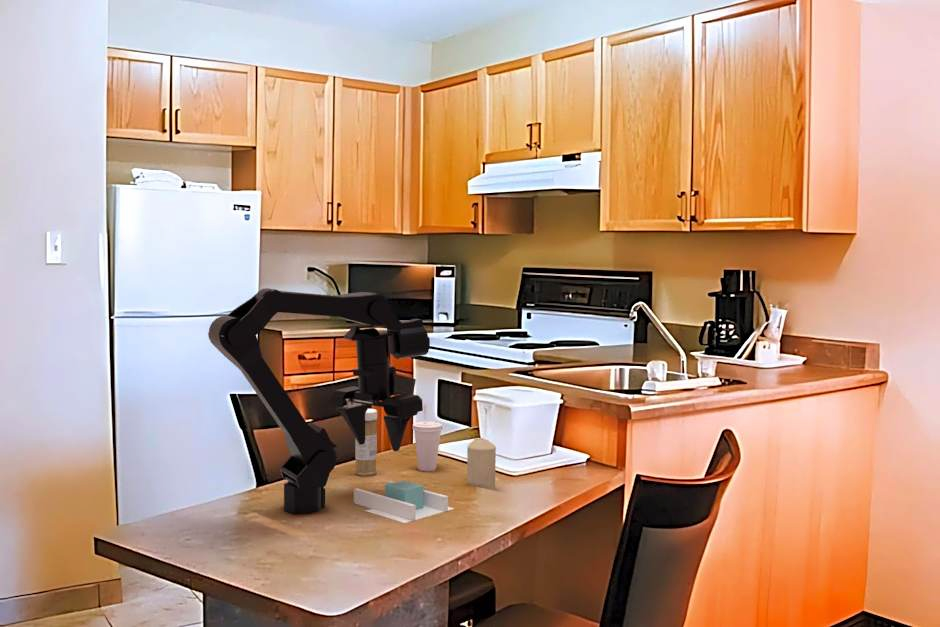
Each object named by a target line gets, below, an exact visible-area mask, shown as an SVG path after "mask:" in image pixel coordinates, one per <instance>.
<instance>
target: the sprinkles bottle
mask: <svg viewBox="0 0 940 627" xmlns="http://www.w3.org/2000/svg"><path fill="white" fill-rule="evenodd" d="M377 419H378V410H377V409H375V408H368V409H367V411H366V413H365V443H364V444H362V445H360V444H359V443H358V441H357V439H356V438H355V441H354V442H355V446H354V447H355V452H354V453H355V456H354V457H355V470H354V474H356V475H357V476H365V477H369V476H374V475H376V474H377V473H378V471H377V457H378V451H377V449H378V448H377V447H378V446H377V445H378V443H377V440H378V439H377V435H378V434H377V421H378V420H377Z"/></svg>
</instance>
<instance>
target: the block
mask: <svg viewBox="0 0 940 627" xmlns="http://www.w3.org/2000/svg"><path fill="white" fill-rule="evenodd" d="M395 482H396V483H392V484H387V485H386V484H384V492H385V493H384V496H386V497H389V498H393V499H396V500H400V501H403V502H407V503H410V504H414V505H416V510H418V509H422V508H423V493H424V490H425V488H424V485H421V484H418V483H414V482H410V481H408V480H400V481H395Z"/></svg>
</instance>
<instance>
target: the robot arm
mask: <svg viewBox="0 0 940 627" xmlns="http://www.w3.org/2000/svg"><path fill="white" fill-rule="evenodd" d="M387 298H388V297H386V295H383V294H380V293H375V292H367V291H366V292H365V291H359V292H351V293H350V292H349V293H343V294H334V295H331V294H330V295H329V294H321V293H320V294H318V293H306V292H297V291H287V290H286V291H285V290H278V289H276V288H275V289H274V288H268V287H265V288H261V289H259V290H258V291H257V293H256V294H254V295H253V296H252V297H251V298H250V299H248V300H246V301H245V302H243V303H241V304H240V305H238V306H237V307H236V308H234V309H233V310H232V311H231V312H229V313H228V314H227V315H221V316H219V317H217V318H215V319H214V320H213V321H212V322H211V324H210V326H209V328H208V332H207V335H208V340H209V341H210V343H211V344H212V345H213V346H214V348H216V349H217V350H218V351H219V352H220V353H221V354H222V355H223V356H224V357H225V359H227V360H228V361H230V362H231V363H232V364H233V366H235V367H236V368H238V369H239V371H240V372H241V373H242V374H243V376H244V378H245V379H246V381H247V382H248V383H249V384H250V386H251V388H252V389H253V391H254V392H255V393H256V395H257V396H258V398H259V399H260V401H261V402H262V404H263V405H264V406H265V408H266V409H267V411H268V412H269V414H270V415H271V416H272V418H273V420H274V421H275V422H276V424H277V425H278V427H279V428H280V429H281V431H282V432H283V434H284V436H285V441H286V445H287V449H288V450H289V453H290V456H289V457H288V458H287V459H286V460H285V461H284V463H283V464H282V465H281V466H280V467H279V471H280V474H281V477H282V479H284V480H286V481H287V482H285V483H283V512H284V513H287V514H289V515H290V514H291V515H294V516H298V515H310V514H315V513H318V512H320V511H321V510H322V509H324V508H326V486H327V484H328V480H329V477H330V474H331V472H332V471H333V470H334V469H335V466H336V465H337V460H338V453H337V452H336V449H335V448H337V447H338V445H337V444H335V443H333V441H332V440H331V438H330V437H329V435H328V432H327V431H326V429H325V428H324V427H322V426H320V425H318V424H316V423H314V422H311V423H309V424H308V422H307V421H306V420H305V418H304V417H303V416H302V413H301V412H300V410H299V409H298V408H297V407H296V405H295V403H294V402H293V400H292V399H291V397H290V396H289V395H288V393H287V391H286V390H285V388H284V387H283V386H282V384H281V383H280V381H279V380H278V378H277V377H276V376H275V374H274V373H273V371H272V369H271V368H270V367H269V365H268V363H267V362H266V361H265V359H264V356H263V352H262V348H261V344H260V341H259V340H258V337H257V335H258V334H259V333H261V332H262V330H264V329H265V327H266V326H267V325H268V323H269V322H271V320H272V319H273V317H274V316H275V315H276V314H278V313H287V314H295V315H296V314H297V315H298V314H299V315H311V316H321V317H322V316H327V317H336V318H339V319H342V320H347V321H350V322H353V323H357V324H363V325H368V326H373V327H369V328H360V327H359V326H358V325H357V326H356V325H352V326H351V327H350V330H348V331H347V332H346V334H344V335H343V339H345V340H348V341H353V342H355V348H356V363H357V368H353V369H352V375H353V376H357V377H358V386H354V385H353V386H349V387H344V388H343V387H342V388H340V389H335V390H334V391H333V393H332V394H331V396H330V398H331V401H330V402H331V407H336V409H335V410H336V411H337V412H339V413H340V415H341V416H342V418H343V420H344V421H345V422H346V424H347V426H348V427H349V429H350V430H351V433H352V434H353V436H354V437H355V438H356V439H357V441H358V443H359V444H360V445H362V444H364V443H365V413H366V411H367V409H369V407H370V406H374V407H380V408H383V411H384V412H385V414H386V415H384V416H383V420H384V423H385V428H386V430H387V431H386V432H387V435H388V440H389V442H390V446H391V449H392V451H393V452H398V451H400V450H401V445H402V442H403V439H404V438H403V437H404V435H405V431H406V428H407V425H408V423H409V422H410V420H411V418H413V417H414V416H417V415H418V414H419V412H424V404H423V398H421V396H419V395H418V394H414V392H415V386H416V382H417V379H416V378H412V377H408V376H404V375H401V374H397V370H396V367H395V365H394V366H392V365H390V364H391V363H390V355H392V356H393V358H395V359H396V360H401V359H406V358H414V357H415V358H416V357H420V356H426V355H427V354H428V353H429V351H430V346H431V341H430V337H429V335H428V332H427V329H426V328H425V327H424V323H423V322H424V321H423V319H419V318H412V319H410V320H405V321H401V320H400V319H399V318H398V316H397V315H396V314H395V312H393V310H392V309H391V304H390V301H389V300H388V299H387ZM376 328H380V329H386V331H379V330H378V329H376Z"/></svg>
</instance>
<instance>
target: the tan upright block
mask: <svg viewBox="0 0 940 627" xmlns="http://www.w3.org/2000/svg"><path fill="white" fill-rule="evenodd" d="M496 450H497V447H496V445H495V444H494V443H493V442H491V441H490V440H488V439H486V438H484V437H477V438H474V439H473V440H472V441H471V442H470V443H469V444H468V445H467V451H466V452H467V454H466V456H467V459H466V460H467V461H466V462H467V463H466V466H467V468H466V470H467V471H466V484H467V485H469V486H473V487H478V488H482V489H486V490H490V491H492V492H494V491H495V488H496V455H497V454H496V453H497V452H496Z"/></svg>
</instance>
